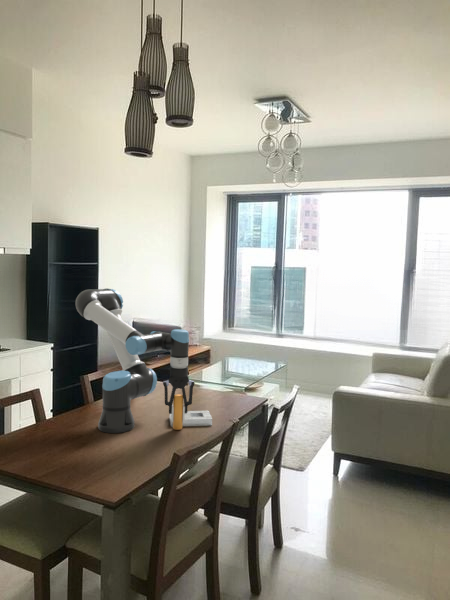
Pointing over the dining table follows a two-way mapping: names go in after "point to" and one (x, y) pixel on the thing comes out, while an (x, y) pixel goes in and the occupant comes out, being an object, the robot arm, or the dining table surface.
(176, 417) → the pin
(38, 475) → the dining table surface
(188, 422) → the white peg hole block
